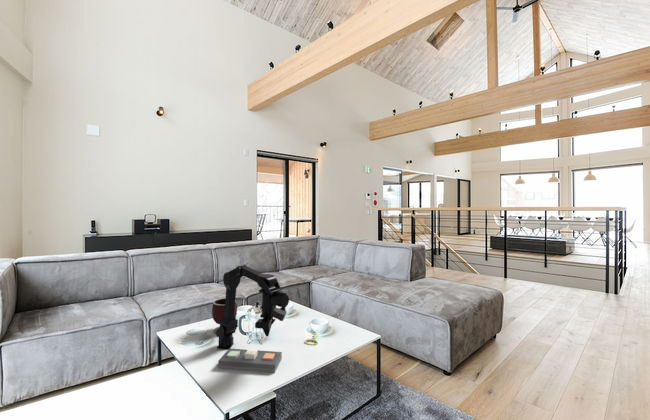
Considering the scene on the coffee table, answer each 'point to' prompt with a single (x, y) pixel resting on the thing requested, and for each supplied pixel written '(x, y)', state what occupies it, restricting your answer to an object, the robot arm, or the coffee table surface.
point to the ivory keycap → (251, 354)
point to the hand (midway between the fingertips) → (267, 336)
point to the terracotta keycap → (269, 356)
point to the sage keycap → (233, 354)
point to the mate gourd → (220, 311)
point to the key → (312, 340)
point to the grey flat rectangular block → (250, 362)
